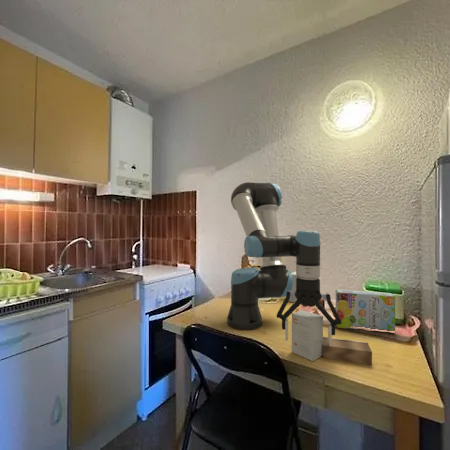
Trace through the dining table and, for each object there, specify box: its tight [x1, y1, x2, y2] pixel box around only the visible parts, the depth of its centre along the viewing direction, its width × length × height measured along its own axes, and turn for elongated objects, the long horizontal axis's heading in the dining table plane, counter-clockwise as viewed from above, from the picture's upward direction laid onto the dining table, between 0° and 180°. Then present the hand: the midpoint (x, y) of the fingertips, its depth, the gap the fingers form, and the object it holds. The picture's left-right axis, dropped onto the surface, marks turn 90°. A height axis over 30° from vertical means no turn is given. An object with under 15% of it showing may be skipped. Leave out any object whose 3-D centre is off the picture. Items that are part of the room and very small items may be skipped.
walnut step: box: [322, 336, 373, 366], centre depth 86 cm, size 14×6×4 cm, turn 72°
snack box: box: [335, 289, 396, 332], centre depth 108 cm, size 21×6×15 cm, turn 73°
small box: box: [291, 309, 324, 362], centre depth 87 cm, size 8×6×13 cm
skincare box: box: [288, 270, 298, 304], centre depth 145 cm, size 8×7×16 cm
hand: (307, 341), depth 87 cm, fingers open, 13 cm apart
